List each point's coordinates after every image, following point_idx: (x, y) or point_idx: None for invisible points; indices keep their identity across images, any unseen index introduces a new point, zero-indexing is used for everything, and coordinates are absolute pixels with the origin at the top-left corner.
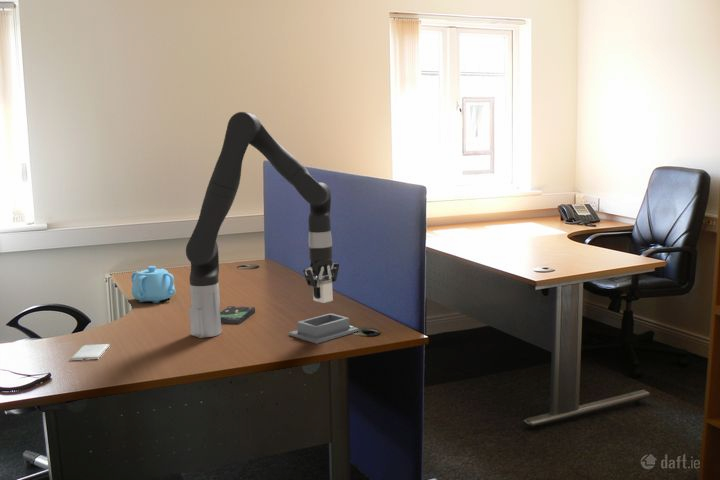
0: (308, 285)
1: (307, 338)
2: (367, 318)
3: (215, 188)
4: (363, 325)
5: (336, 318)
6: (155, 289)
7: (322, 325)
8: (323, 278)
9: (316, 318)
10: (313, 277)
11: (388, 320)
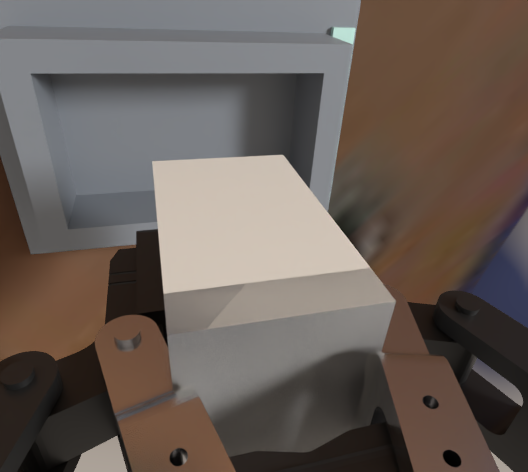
0: (2, 366)
1: (9, 179)
2: (524, 79)
3: None
4: (409, 161)
5: (310, 134)
6: None
7: (106, 246)
8: (344, 371)
9: (189, 72)
10: (128, 460)
11: (517, 180)
